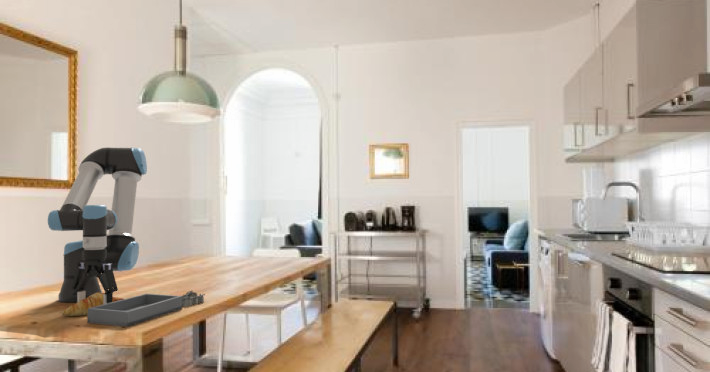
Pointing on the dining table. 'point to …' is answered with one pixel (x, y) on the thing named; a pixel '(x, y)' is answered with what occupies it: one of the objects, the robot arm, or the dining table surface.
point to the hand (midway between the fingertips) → (94, 311)
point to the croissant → (86, 305)
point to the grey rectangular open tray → (134, 309)
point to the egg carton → (191, 298)
